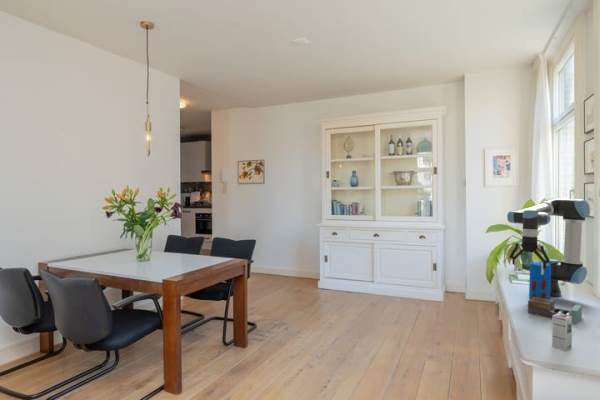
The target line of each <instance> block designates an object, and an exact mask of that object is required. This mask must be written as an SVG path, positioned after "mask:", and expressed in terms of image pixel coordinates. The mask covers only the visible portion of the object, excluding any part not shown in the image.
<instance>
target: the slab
mask: <svg viewBox="0 0 600 400" xmlns="http://www.w3.org/2000/svg"><path fill="white" fill-rule="evenodd" d="M527 308H532V309H536V310H541V311H546V312H549V311H550V310H552V309H553V308H555V300H554V299H550V300H549V299H544V298H539V297H533V298H531V299H530V300H529V299H528V300H527Z"/></svg>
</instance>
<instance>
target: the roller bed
mask: <svg viewBox="0 0 600 400" xmlns="http://www.w3.org/2000/svg"><path fill="white" fill-rule="evenodd" d="M527 308H528V307H527ZM527 313H528V314H531V315H536V316H540V317H544V318H545V317H546V318H549V319H552V316H553V315H555V314H557V313H561V314H566V315H569V316H571V310H568V309H563V308H558V307H554V308H553V309H552V310H550V311H549V312H546V311H541V310H536V309H532V308H528V309H527Z"/></svg>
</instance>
